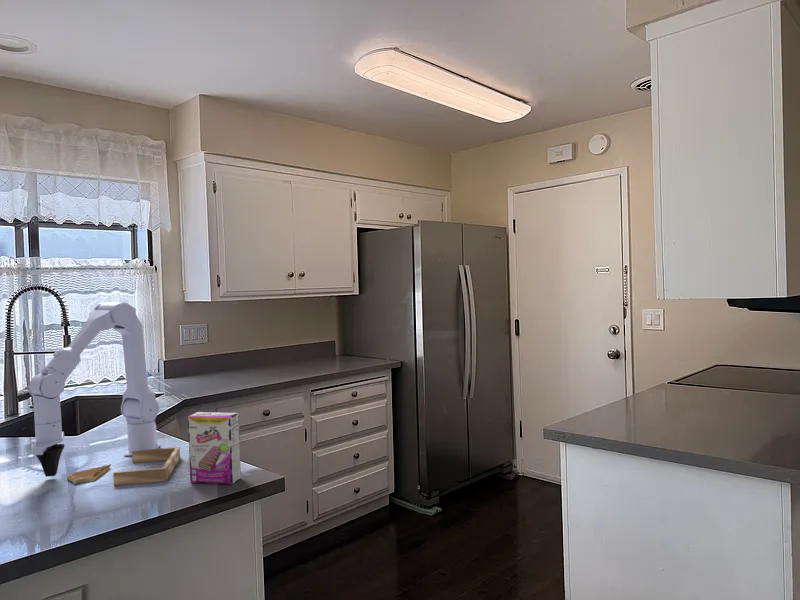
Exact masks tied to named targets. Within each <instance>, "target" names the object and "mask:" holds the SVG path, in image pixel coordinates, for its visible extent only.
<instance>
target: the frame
mask: <svg viewBox="0 0 800 600" xmlns="http://www.w3.org/2000/svg"><path fill="white" fill-rule="evenodd" d="M180 449H181V448H180V446H175V447H163V448H160V447H159V448H158V449H148V450H135V451H133V452H132V454H133V455H132V463H143V462H144V463H147V462H158V461H165V462H164V465H163V467H156V468H145V469H133V470H132V469H131V470H121V471H120V470H119V471H113V473H112V474H113V475H112V476H113V477H112V478H113V486H123V485H134V484H144V483H145V484H146V483H155V482H156V483H157V482H167V480H168V479H169V478H170V476H171V474H172V472H173V471H174V469H175V467H176V465H177V464H178V462H179V461H180V459H181V450H180Z"/></svg>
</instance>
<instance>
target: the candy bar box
mask: <svg viewBox="0 0 800 600" xmlns="http://www.w3.org/2000/svg"><path fill="white" fill-rule="evenodd" d="M239 415H240V413H239V412H219V411H217V412H215V411H214V412H213V411H211V412H210V411H196V412H194V413H191V414H190V415H188V416H187V427H188V428H187V429H188V431H187V433H188V435H187V436H188V448H189V449H188V451H189V452H188V456H189V457H188V458H189V480H190V481H189V482H190V483H191V484H211V485H212V484H213V485H234V484H235V483H236V482H237V481H239V480H240V479H241V478H242V471H241V469H242V468H241V444H240V442H241V441H240V419H239V418H240V417H239Z"/></svg>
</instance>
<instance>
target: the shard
mask: <svg viewBox="0 0 800 600" xmlns="http://www.w3.org/2000/svg"><path fill="white" fill-rule="evenodd" d="M111 466H112V463H109V464H106V465H102V466H98V467H92V468H88V469H84V470H81V471H76V472H73V473H69V474H68V475H66V478H67V479H66V480H68V481H70V482H72V483H73V484H74V485H76V484H80V483H85V482H87V483H88V482H89V483H90V482H95V481H96V480H97V479H98V478H99V477H101V476H102V475H104V474H105V473H107V472H108V471H110V467H111Z"/></svg>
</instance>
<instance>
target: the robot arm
mask: <svg viewBox="0 0 800 600" xmlns="http://www.w3.org/2000/svg"><path fill="white" fill-rule="evenodd" d="M136 309H137V308H135V307H134V306H132V305H131V304H129V303H127V302H124V301H123V302H100V303H98V304H97V305H96V306H95V307H94V309H93V310H92V311H90V312H89V314H88V318H87V319H86V321H85V322H84V324H83V326H82V327H81V328H80V330H79V331H78V332H77V334H76V335H75V337H74V338H73V339H72V341H71V342H70V344H68V346H67V347H64V348H60V349H58V350H56V351H54V353H52V356H53V357H52V358H51V360H50V361H49V362H48V363H47V364H46V366H45V367H42V368H41V369H40V373H38V374H35V375H34V376H33V377H32V378H31V379H30V381H29V385H28V386H26V388H27V391H28V393H29V394H30V395H31V396H32V400H33V415H34V433H35V434H34V436H35V438H34V439H32V440H30V445H33V447H32V456H35V457H36V458H37V459H38V461H39V462H40V464H41V465H40V466H41V468H42V471H43V473H44V476H45V477H54V476H56V475H57V473H58V469H59V463H60V460H61V459H60V458H61V455H62V454H63V451H64V450H65V449H64V448H65V443H61V442H63V441H64V440H65V432H64V431H62V430H63V427H62V412H61V411H62V409H61V394H62V393H63V392H64V391H65V388H66V382H67V379H68V378H69V376H70V375H72V373H73V372H74V370H75V369H76V368H77V366H79V365H80V363H81V360H82V359H81V354H82V353H83V352H84V351H85V349H86V348H87V347H88V346H89V345H90V344H91V343H92V341H93V340H95V338H96V337H97V336H98V335H99V334H100V333H101V332H105V331H107V330H110V329H113V330H114V331H116V332H118V333H119V334H120V335H121V339H122V348H123V360H124V368H125V369H124V370H125V380H126V381H125V382H126V389H125V391H124V392H123V393H122V402H121V405H120V413H121V414H122V416H123V417H125V422H126V430H127V434H126V435H127V449H128V450H126V451H125V453H124V454H123V457H126V456H128V457H131V456H133V454H132V452H133V451H135V450H148V449H159V448H160V446H161V443H160V442H159V443H158V441H157V435H158V434H157V423H156V418H157V416H158V414H159V412H160V405H159V402H158V400H157V397H156V393H155V392H154V391H153V390H152V389H151V388H150V387H149V384H148V374H147V373H148V371H147V363H146V352H145V350H146V349H145V340H144V339H145V337H144V327H143V324H142V322H141V320H140V319H139V317H138V315H137V310H136Z"/></svg>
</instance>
